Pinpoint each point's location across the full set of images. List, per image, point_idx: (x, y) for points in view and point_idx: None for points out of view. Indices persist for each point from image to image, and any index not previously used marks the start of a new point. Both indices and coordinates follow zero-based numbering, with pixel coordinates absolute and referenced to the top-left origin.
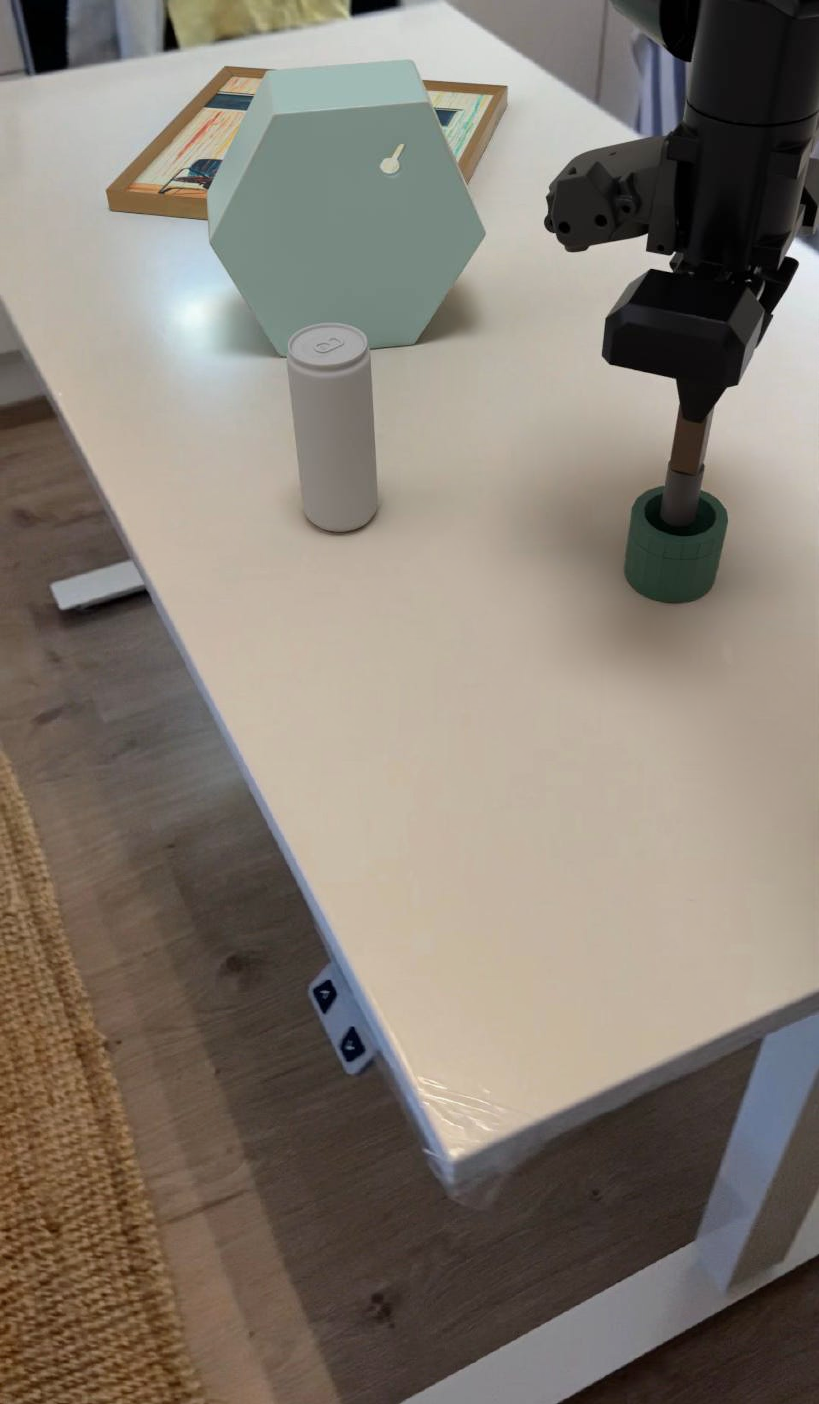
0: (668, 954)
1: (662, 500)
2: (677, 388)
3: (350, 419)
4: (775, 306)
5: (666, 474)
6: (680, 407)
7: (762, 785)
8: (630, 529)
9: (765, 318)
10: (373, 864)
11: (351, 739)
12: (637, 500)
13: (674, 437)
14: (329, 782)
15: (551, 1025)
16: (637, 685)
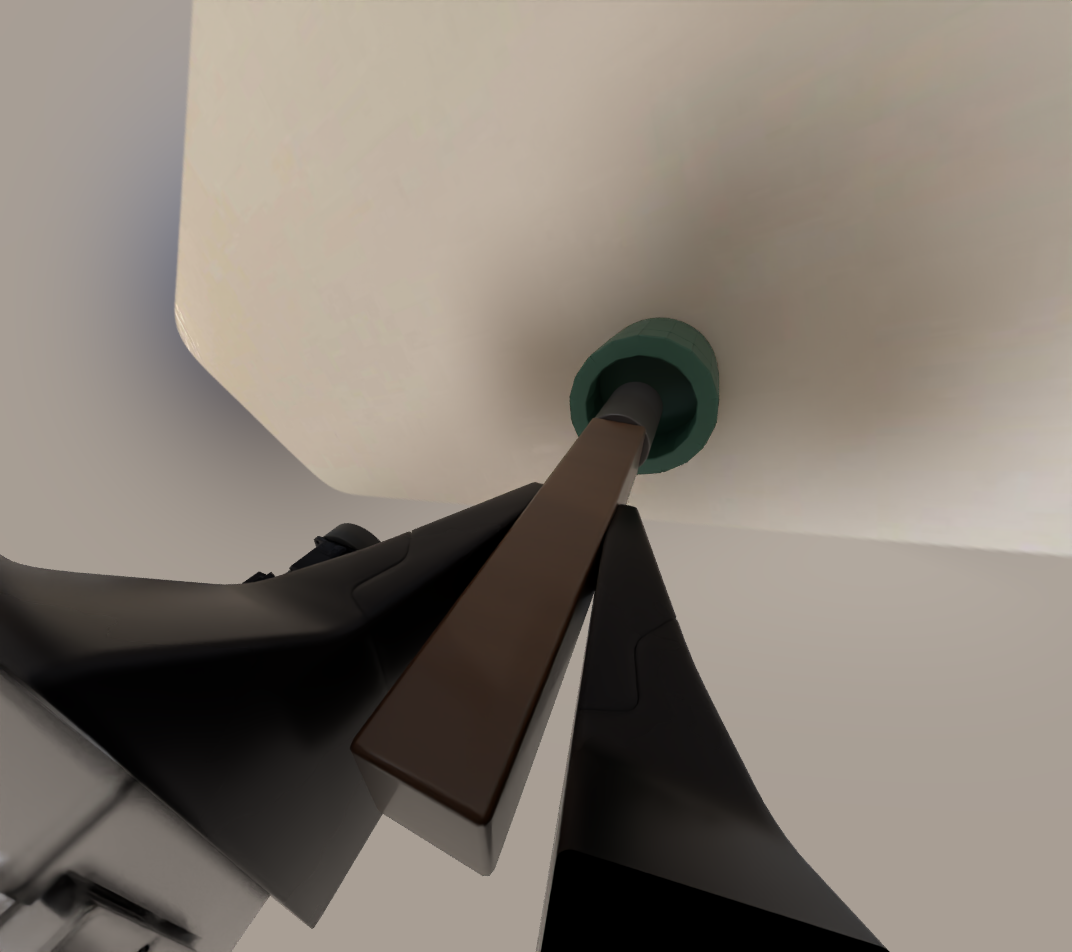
0: (303, 425)
1: (621, 391)
2: (466, 509)
3: None
4: (544, 930)
5: (613, 406)
6: (513, 490)
7: (428, 475)
8: (620, 335)
9: (280, 903)
10: (222, 197)
11: (279, 76)
12: (657, 340)
13: (573, 445)
14: (237, 90)
15: (238, 369)
16: (475, 372)
